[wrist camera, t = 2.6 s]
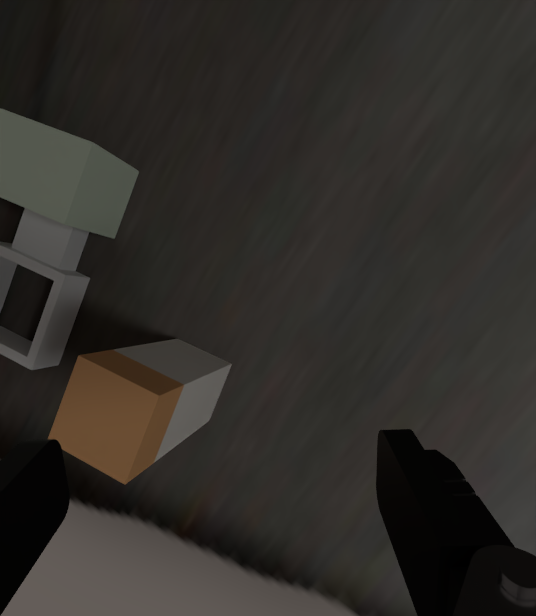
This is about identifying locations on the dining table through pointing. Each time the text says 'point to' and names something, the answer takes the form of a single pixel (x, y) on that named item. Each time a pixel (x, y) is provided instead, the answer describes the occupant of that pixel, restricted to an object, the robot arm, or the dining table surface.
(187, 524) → the dining table surface
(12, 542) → the robot arm
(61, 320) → the grey boxy piece
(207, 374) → the orange and grey block
